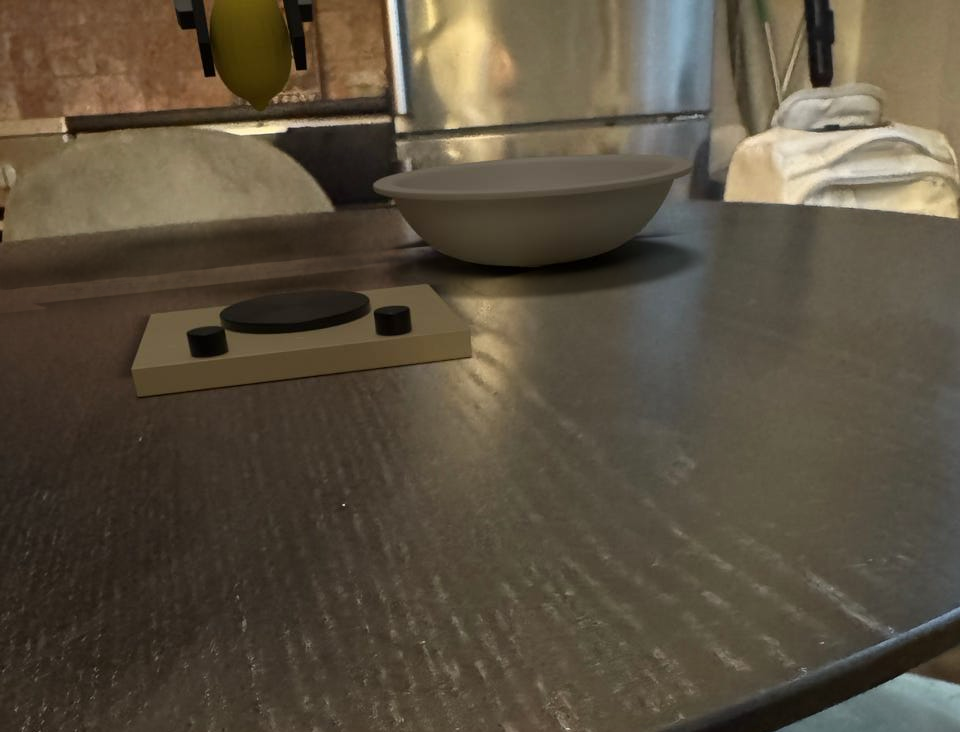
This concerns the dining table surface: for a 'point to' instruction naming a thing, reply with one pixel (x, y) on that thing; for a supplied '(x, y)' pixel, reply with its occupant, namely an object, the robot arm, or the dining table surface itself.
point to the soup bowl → (533, 205)
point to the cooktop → (296, 338)
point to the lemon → (251, 49)
